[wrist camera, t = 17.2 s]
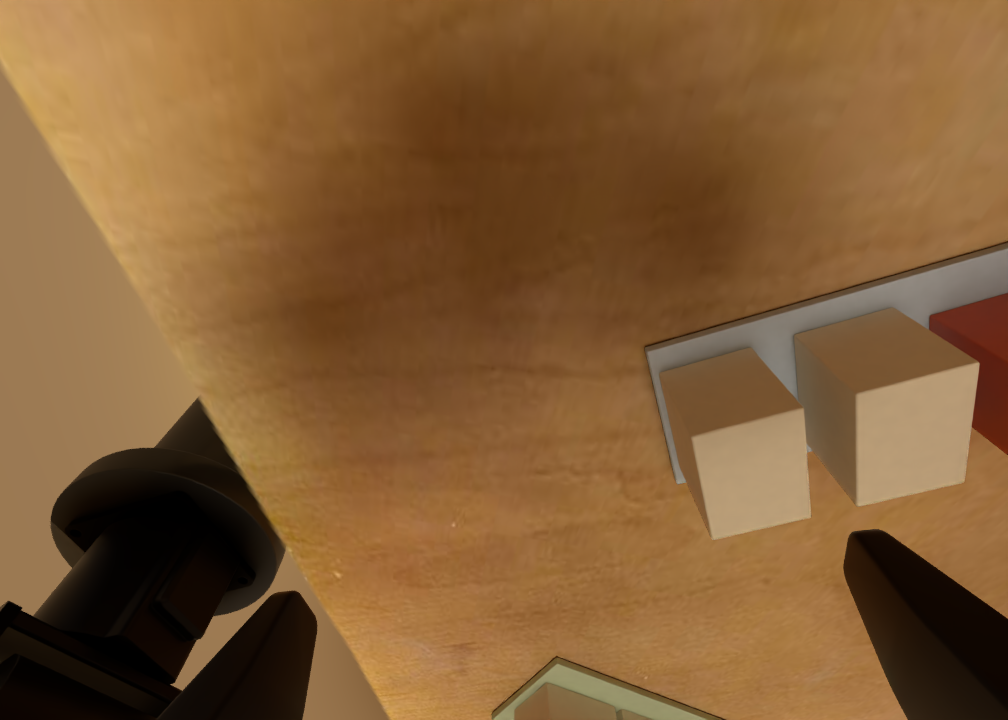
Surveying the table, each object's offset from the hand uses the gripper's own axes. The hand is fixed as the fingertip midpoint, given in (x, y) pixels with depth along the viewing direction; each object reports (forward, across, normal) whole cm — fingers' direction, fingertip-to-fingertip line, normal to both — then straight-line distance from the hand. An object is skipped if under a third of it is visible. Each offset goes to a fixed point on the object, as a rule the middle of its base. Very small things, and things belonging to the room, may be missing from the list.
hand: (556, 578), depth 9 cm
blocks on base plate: (+12, -12, +6) cm, 18 cm away
